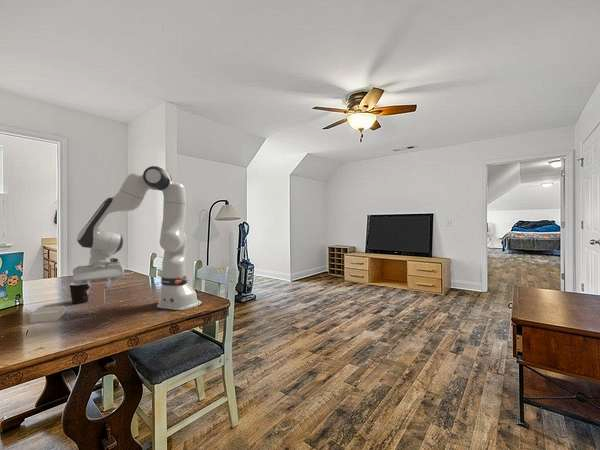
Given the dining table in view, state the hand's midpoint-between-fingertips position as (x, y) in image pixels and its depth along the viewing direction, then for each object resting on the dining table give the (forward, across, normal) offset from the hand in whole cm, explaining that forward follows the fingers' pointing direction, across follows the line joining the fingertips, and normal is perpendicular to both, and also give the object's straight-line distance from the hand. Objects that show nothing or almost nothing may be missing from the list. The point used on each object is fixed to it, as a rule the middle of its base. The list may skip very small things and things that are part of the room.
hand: (99, 288), depth 129 cm
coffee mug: (-10, -9, +26) cm, 29 cm away
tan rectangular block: (+5, 0, +6) cm, 7 cm away
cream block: (+6, -19, +10) cm, 22 cm away
